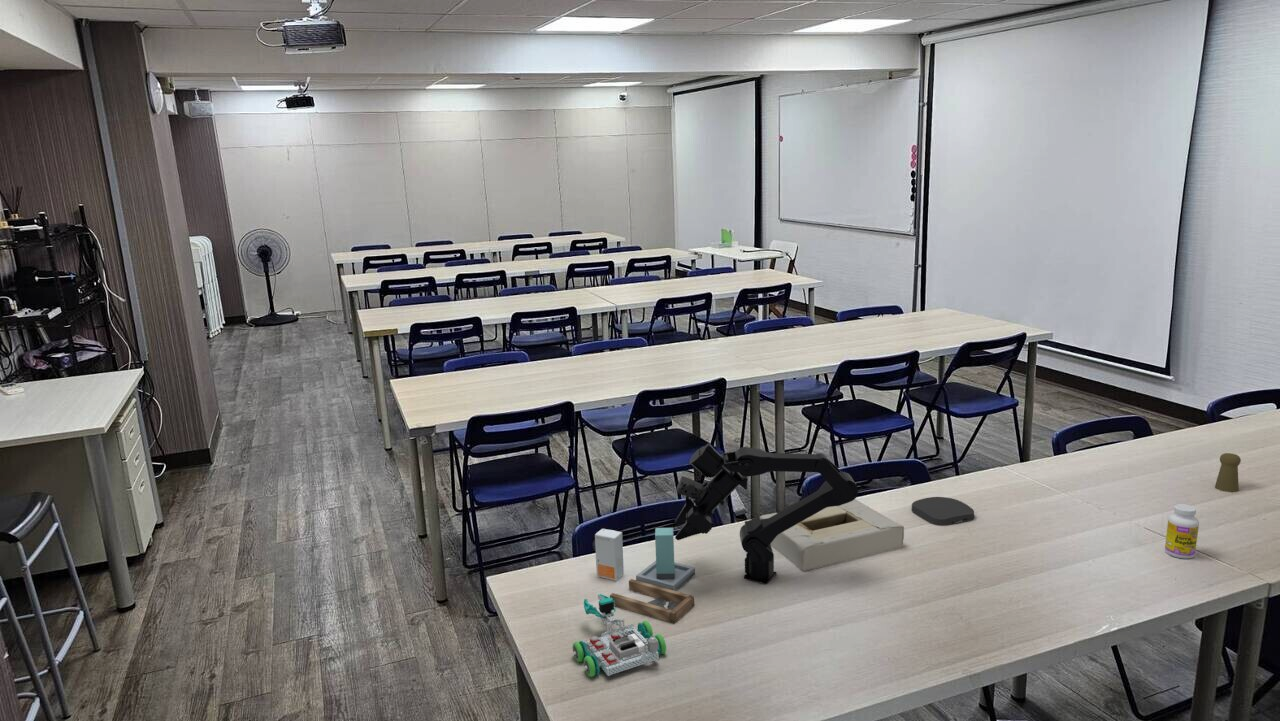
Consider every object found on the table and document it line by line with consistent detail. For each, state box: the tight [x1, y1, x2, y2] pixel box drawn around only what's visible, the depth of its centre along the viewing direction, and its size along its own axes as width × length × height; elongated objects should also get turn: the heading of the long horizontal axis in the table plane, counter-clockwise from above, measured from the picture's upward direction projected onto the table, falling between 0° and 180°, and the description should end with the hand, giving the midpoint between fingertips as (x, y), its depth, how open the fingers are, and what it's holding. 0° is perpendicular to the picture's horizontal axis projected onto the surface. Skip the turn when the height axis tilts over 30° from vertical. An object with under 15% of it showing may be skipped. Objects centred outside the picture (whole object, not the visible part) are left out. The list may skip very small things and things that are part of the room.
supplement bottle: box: [1164, 503, 1200, 560], centre depth 215 cm, size 7×7×13 cm
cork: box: [1214, 452, 1241, 493], centre depth 256 cm, size 6×6×11 cm
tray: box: [635, 560, 696, 592], centre depth 214 cm, size 11×11×2 cm
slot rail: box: [609, 578, 695, 625], centre depth 202 cm, size 18×9×2 cm, turn 57°
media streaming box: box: [911, 496, 975, 526], centre depth 247 cm, size 15×15×3 cm
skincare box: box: [594, 528, 625, 582], centre depth 216 cm, size 6×4×12 cm
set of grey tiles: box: [647, 597, 680, 610], centre depth 199 cm, size 9×7×1 cm
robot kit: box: [572, 593, 667, 678], centre depth 184 cm, size 19×25×9 cm
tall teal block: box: [654, 527, 675, 580], centre depth 213 cm, size 5×5×12 cm
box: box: [759, 498, 905, 572], centre depth 231 cm, size 23×8×32 cm
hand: (676, 531), depth 212 cm, fingers open, 9 cm apart
